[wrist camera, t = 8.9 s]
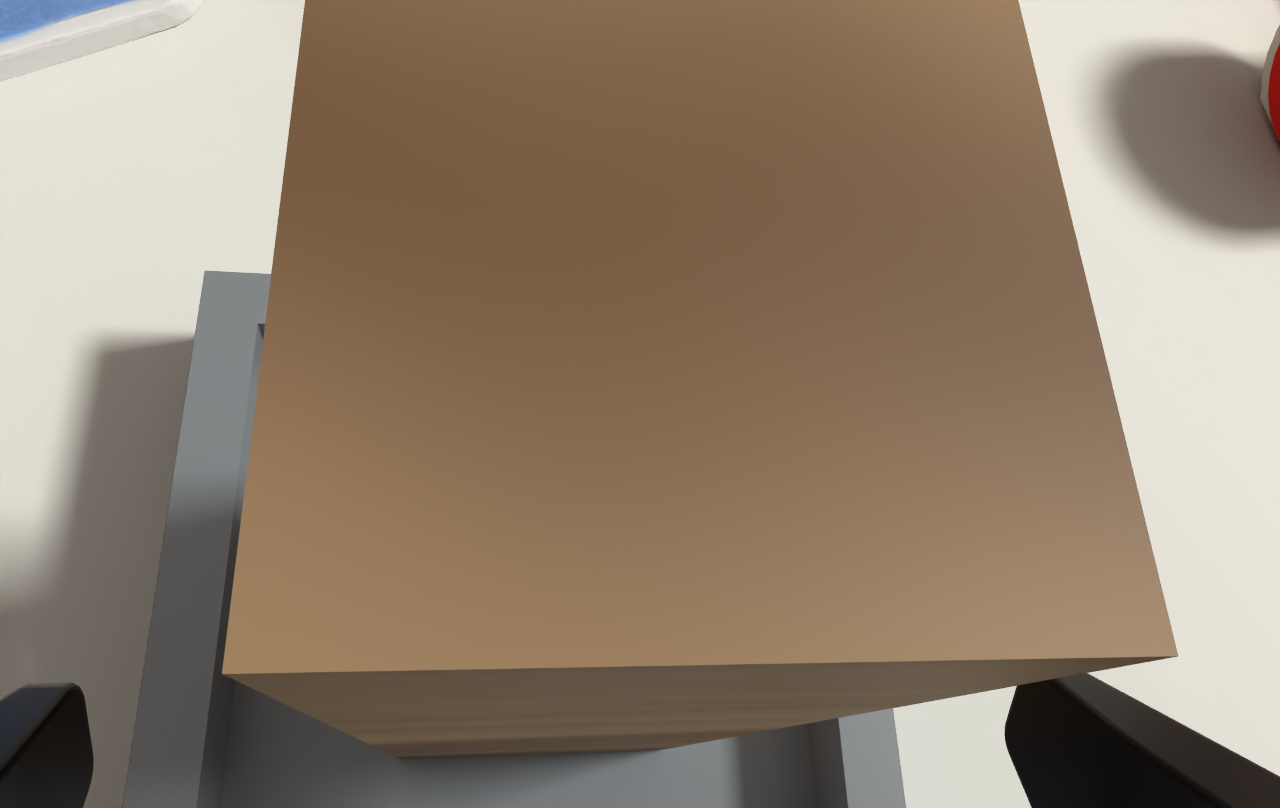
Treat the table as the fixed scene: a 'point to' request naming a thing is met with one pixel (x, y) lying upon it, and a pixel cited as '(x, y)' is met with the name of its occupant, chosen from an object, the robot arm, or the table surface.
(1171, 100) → the table surface
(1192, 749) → the robot arm
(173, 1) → the tablet computer
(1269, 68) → the toy hammer
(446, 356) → the walnut block
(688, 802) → the tray
